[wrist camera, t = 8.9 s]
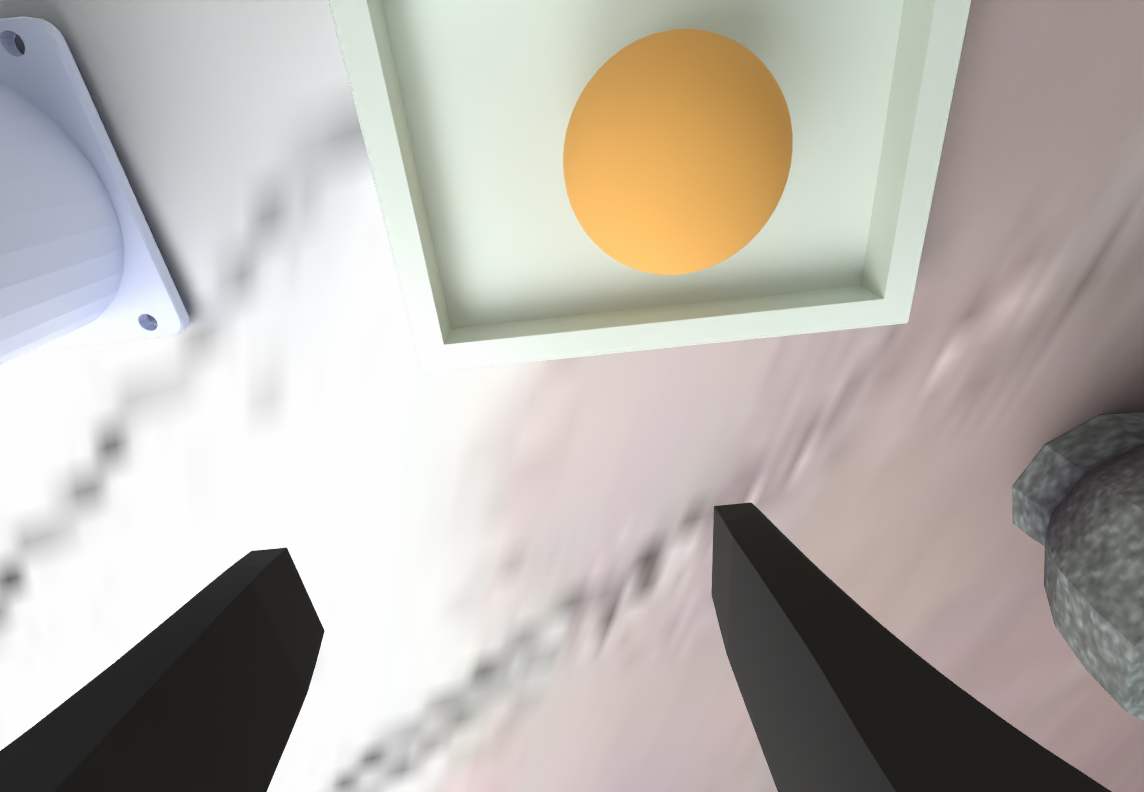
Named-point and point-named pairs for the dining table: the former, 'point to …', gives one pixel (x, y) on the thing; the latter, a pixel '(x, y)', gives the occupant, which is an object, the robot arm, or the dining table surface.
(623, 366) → the dining table surface
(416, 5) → the tray
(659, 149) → the ball
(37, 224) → the robot arm
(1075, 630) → the mortar and pestle
